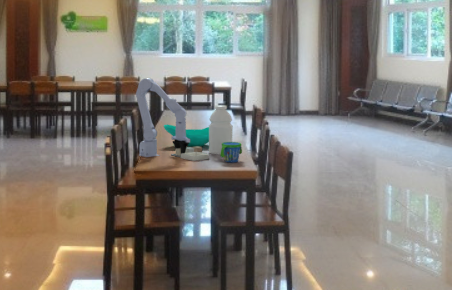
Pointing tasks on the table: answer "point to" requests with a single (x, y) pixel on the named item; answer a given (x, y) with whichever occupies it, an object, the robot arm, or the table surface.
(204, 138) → the table top decor
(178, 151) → the cream cube
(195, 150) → the tan cube
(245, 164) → the table surface
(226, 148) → the snack cup
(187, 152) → the light grey cube
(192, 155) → the dish
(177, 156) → the parts tray
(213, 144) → the bottle
